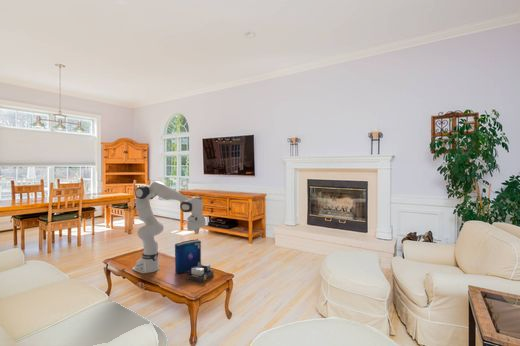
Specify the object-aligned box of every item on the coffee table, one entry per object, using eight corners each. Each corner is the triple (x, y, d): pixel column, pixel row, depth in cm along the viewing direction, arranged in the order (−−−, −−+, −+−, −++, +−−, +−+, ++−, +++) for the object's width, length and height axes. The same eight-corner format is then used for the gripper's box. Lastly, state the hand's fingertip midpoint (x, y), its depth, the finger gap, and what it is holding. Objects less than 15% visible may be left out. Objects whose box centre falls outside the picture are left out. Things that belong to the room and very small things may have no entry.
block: (191, 279, 206) (191, 268, 206) (194, 277, 210) (194, 266, 209) (201, 281, 203) (201, 270, 203) (203, 279, 206) (204, 268, 206)
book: (176, 275, 214) (176, 244, 213) (173, 272, 220) (174, 242, 219) (201, 269, 227) (201, 240, 226) (198, 266, 233) (198, 238, 232)
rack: (187, 280, 205) (188, 268, 205) (200, 272, 220) (200, 261, 220) (202, 283, 200) (202, 271, 200) (213, 275, 215) (213, 264, 215)
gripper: (201, 214, 224) (200, 230, 224) (185, 218, 205) (185, 236, 205) (207, 215, 222) (207, 231, 222) (192, 219, 203) (192, 237, 203)
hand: (196, 233), depth 213 cm, fingers closed
